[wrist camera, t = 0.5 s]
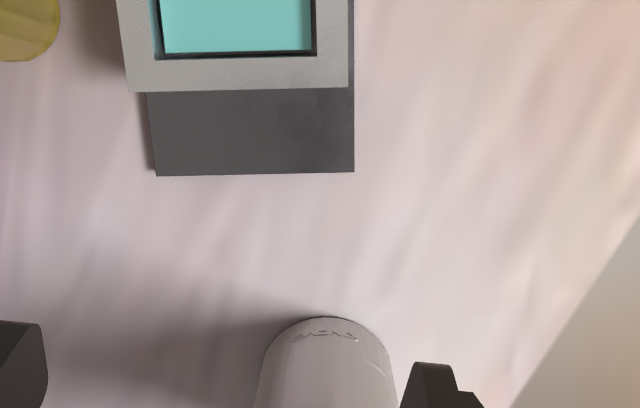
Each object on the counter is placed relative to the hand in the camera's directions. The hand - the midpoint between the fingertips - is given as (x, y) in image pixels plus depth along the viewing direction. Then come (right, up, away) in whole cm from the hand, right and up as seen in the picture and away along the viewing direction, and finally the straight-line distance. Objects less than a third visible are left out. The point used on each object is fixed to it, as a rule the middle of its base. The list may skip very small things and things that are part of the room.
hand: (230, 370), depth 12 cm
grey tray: (-2, +14, +19) cm, 23 cm away
